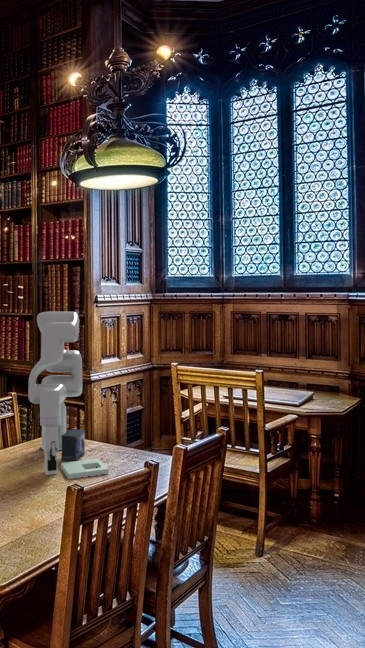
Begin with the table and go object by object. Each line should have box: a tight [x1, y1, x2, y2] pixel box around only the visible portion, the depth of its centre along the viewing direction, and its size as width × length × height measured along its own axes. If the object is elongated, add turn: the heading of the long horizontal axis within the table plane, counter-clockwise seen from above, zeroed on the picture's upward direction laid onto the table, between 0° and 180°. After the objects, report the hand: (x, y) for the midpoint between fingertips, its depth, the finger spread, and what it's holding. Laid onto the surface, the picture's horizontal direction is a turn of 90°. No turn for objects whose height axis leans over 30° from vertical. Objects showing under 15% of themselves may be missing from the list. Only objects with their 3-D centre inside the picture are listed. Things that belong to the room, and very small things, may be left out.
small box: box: [60, 428, 86, 462], centre depth 229 cm, size 11×6×10 cm, turn 168°
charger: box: [44, 450, 58, 476], centre depth 209 cm, size 4×4×10 cm
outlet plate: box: [60, 458, 110, 480], centre depth 211 cm, size 14×15×2 cm
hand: (51, 468), depth 209 cm, fingers closed on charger, 4 cm apart
